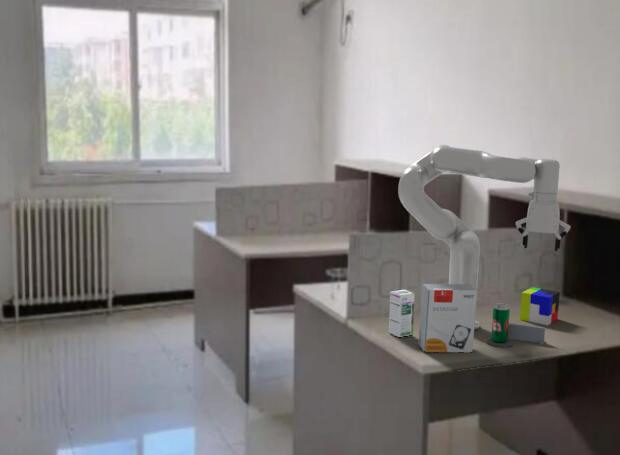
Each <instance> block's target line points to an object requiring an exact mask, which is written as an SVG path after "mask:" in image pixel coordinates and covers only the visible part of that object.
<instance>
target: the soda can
mask: <svg viewBox="0 0 620 455" xmlns="http://www.w3.org/2000/svg"><path fill="white" fill-rule="evenodd" d="M492 309H493V310H492V322H491V336H490V338H491V339H492V340H493V341H494V342H496V343H505V342H507V341H508V328H509V323H510V312H511V311H510V305H509V304H508V303H505V302H504V303H503V302H496V303H495V304H494V305H493V307H492Z"/></svg>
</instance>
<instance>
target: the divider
mask: <svg viewBox="0 0 620 455" xmlns="http://www.w3.org/2000/svg"><path fill="white" fill-rule="evenodd" d="M545 336H546V327H544V326H543V327H542V326H538V325H537V326H536V325H528V324H519V323H514V322H509V328H508V339H509V340H516V341H522V342H528V341H529V342H530V343H537V344H539V345H544V343H545ZM529 342H528V343H529Z"/></svg>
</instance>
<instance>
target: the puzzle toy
mask: <svg viewBox="0 0 620 455" xmlns="http://www.w3.org/2000/svg"><path fill="white" fill-rule="evenodd" d="M560 293H561V292H560V291H556V290H550V289H544V288H540V287H539V288H538V287H532V286H531V287H530V288H527V289H526V290H524V291H522V292H521V299H520V309H519V310H520V311H519V320H520V321H525V322H529V323H535V324H539V325H543V326H549V325H551V324H552V323H553V322H555V321H557V320H558V319H559V318H558V317H559V305H560V304H559V303H560Z"/></svg>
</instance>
